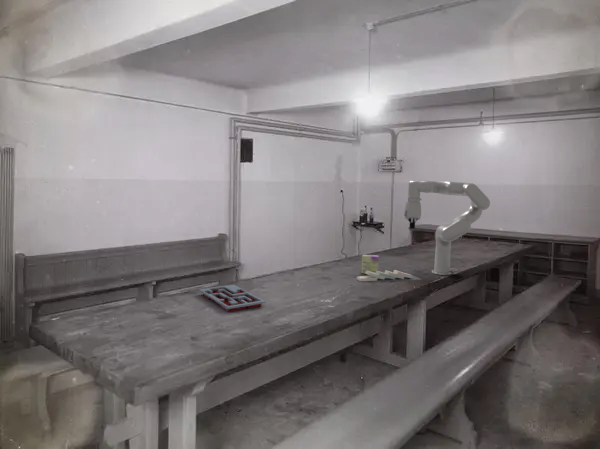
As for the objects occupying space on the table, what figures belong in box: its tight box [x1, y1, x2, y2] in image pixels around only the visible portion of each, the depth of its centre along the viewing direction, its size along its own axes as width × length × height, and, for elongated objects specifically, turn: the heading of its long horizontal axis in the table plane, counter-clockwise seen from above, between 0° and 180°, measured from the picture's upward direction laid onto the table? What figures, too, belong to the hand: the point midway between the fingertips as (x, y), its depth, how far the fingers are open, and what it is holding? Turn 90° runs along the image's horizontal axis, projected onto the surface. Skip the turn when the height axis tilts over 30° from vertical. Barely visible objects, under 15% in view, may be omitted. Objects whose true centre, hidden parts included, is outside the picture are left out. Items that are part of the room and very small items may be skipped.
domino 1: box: [356, 275, 377, 283], centre depth 276 cm, size 2×5×11 cm
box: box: [360, 254, 380, 274], centre depth 296 cm, size 10×6×12 cm, turn 84°
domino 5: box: [393, 269, 414, 279], centre depth 283 cm, size 2×5×11 cm
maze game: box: [199, 284, 267, 312], centre depth 229 cm, size 35×20×3 cm, turn 34°
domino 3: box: [376, 270, 395, 280], centre depth 280 cm, size 2×5×11 cm
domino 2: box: [364, 271, 385, 280], centre depth 277 cm, size 2×5×11 cm
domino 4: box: [383, 269, 404, 279], centre depth 281 cm, size 2×5×11 cm
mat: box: [373, 275, 422, 283], centre depth 282 cm, size 32×10×1 cm, turn 107°
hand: (412, 228), depth 300 cm, fingers closed
